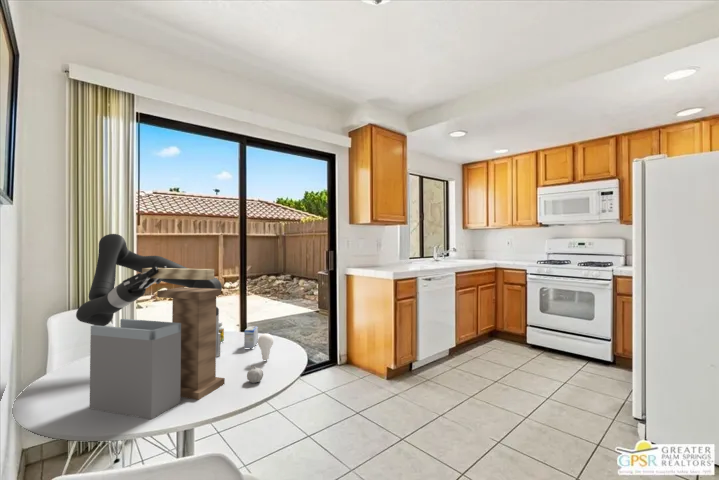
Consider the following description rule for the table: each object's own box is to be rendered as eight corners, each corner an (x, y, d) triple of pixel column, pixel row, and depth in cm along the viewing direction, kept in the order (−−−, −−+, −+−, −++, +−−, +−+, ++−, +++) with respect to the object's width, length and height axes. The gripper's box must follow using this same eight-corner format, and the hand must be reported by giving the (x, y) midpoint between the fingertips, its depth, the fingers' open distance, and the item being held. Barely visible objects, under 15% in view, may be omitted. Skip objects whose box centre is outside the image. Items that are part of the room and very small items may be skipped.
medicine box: (248, 344, 159) (248, 326, 159) (258, 344, 160) (258, 325, 160) (244, 349, 151) (244, 330, 152) (254, 349, 152) (254, 330, 152)
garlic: (244, 380, 117) (244, 365, 117) (259, 377, 120) (259, 362, 120) (250, 386, 112) (250, 370, 112) (265, 382, 115) (266, 367, 115)
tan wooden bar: (142, 277, 114) (142, 268, 114) (150, 277, 117) (150, 267, 117) (207, 279, 107) (207, 269, 107) (214, 278, 110) (214, 269, 110)
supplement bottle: (222, 340, 166) (222, 320, 167) (224, 342, 162) (225, 322, 162) (210, 342, 163) (210, 322, 164) (212, 344, 159) (213, 324, 159)
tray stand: (89, 408, 96) (90, 326, 97) (122, 393, 106) (123, 318, 106) (151, 419, 91) (152, 331, 91) (180, 402, 100) (181, 323, 101)
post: (151, 392, 107) (152, 291, 107) (180, 378, 118) (181, 286, 119) (198, 399, 102) (199, 293, 103) (224, 384, 114) (225, 288, 114)
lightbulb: (276, 359, 138) (276, 332, 138) (267, 364, 132) (267, 336, 133) (263, 357, 140) (263, 331, 140) (254, 362, 134) (254, 334, 135)
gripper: (102, 285, 111) (138, 259, 108) (140, 281, 125) (173, 258, 121) (111, 305, 110) (148, 280, 107) (148, 299, 124) (182, 276, 120)
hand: (161, 268), depth 114 cm, fingers closed on tan wooden bar, 3 cm apart
